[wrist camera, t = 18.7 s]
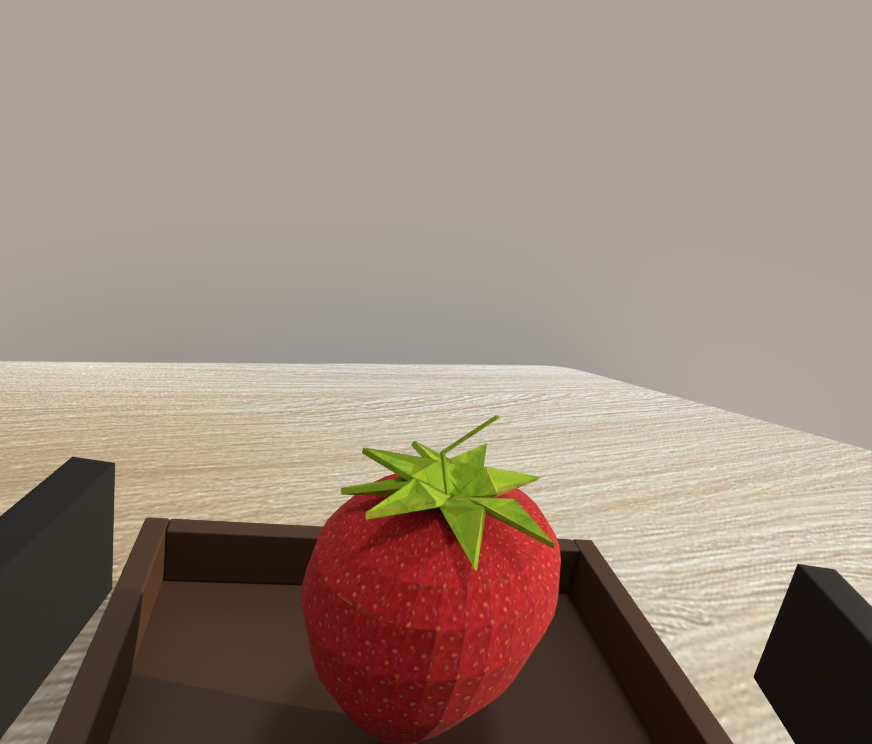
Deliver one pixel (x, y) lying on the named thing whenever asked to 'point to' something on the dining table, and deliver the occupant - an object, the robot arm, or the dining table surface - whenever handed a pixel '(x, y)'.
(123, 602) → the tray
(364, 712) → the strawberry
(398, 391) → the dining table surface
